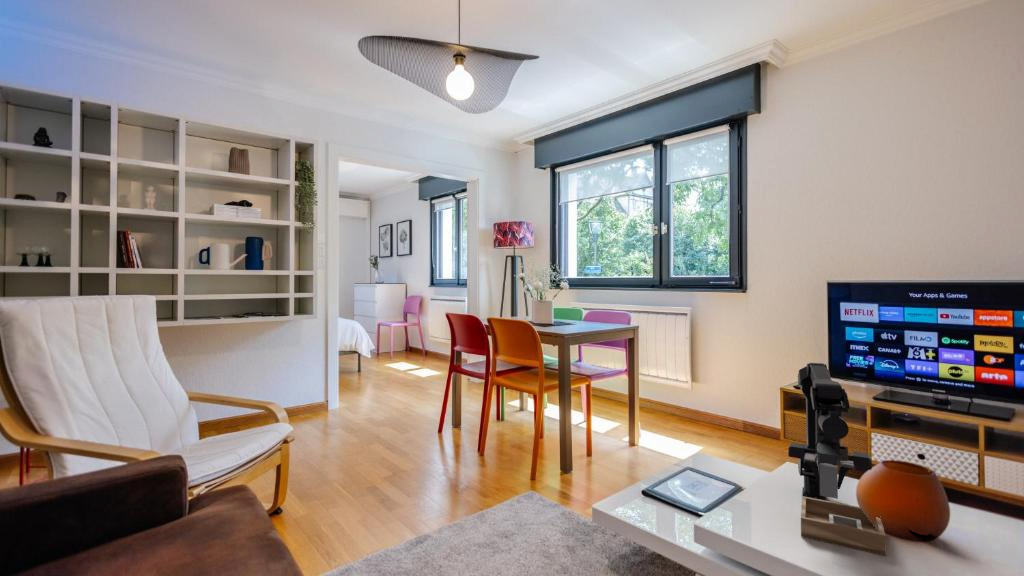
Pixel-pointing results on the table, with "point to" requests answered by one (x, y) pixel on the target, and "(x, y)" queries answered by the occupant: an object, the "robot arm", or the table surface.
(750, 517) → the table surface
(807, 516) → the walled box
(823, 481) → the grey rectangular block
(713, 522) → the table surface
